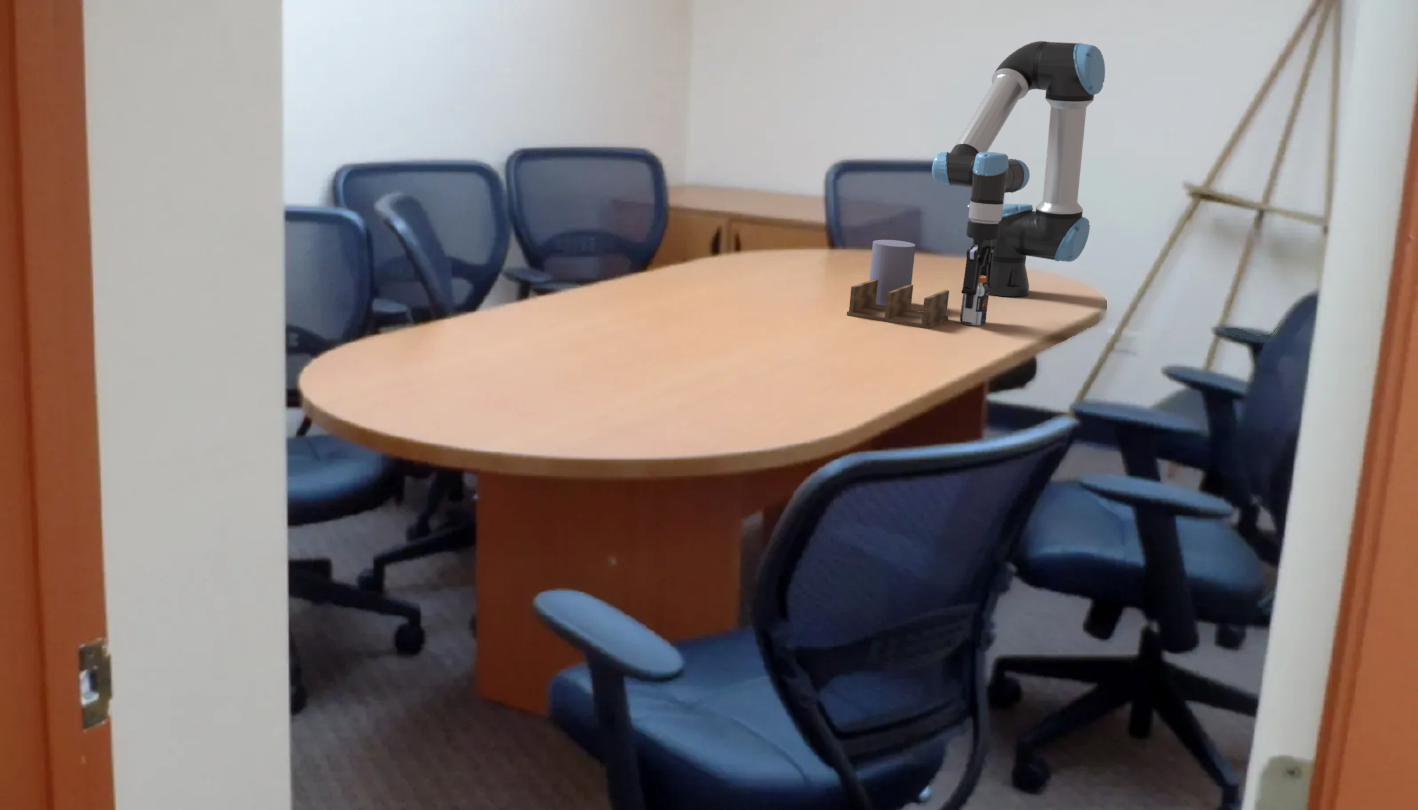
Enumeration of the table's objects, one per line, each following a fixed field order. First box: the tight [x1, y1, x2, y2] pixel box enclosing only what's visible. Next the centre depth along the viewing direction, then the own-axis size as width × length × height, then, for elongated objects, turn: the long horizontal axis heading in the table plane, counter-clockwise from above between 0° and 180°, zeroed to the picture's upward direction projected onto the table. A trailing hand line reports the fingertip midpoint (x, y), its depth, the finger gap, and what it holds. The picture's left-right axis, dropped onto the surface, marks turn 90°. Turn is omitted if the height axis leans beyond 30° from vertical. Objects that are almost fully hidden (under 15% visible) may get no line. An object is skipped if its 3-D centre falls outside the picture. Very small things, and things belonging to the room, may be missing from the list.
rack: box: [846, 279, 950, 329], centre depth 317 cm, size 14×20×7 cm
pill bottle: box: [959, 275, 990, 326], centre depth 315 cm, size 6×6×11 cm
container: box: [868, 239, 916, 306], centre depth 332 cm, size 10×10×15 cm
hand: (972, 319), depth 316 cm, fingers closed on pill bottle, 6 cm apart
